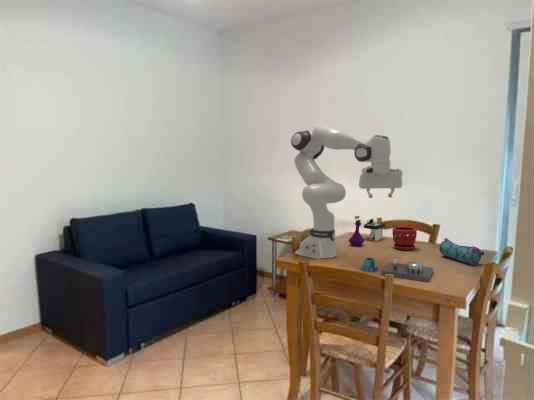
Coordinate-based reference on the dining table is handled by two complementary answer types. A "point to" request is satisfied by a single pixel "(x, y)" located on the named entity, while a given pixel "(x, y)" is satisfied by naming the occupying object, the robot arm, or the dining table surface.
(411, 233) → the plant pot
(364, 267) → the planet gear
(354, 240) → the perfume bottle
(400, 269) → the carrier plate
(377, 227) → the black-topped pedestal
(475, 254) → the pencil case
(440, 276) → the dining table surface
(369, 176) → the robot arm
